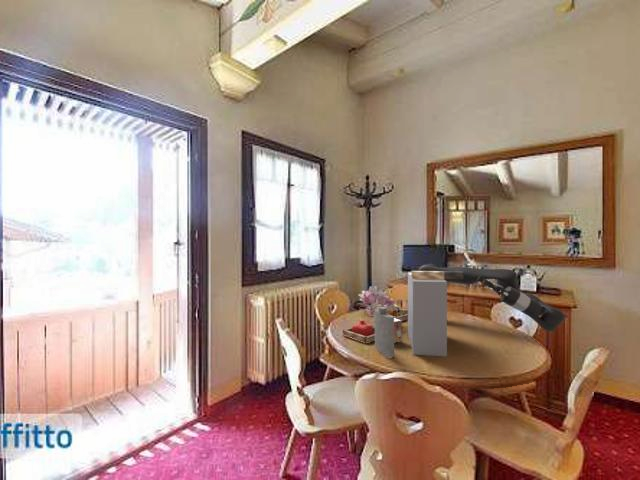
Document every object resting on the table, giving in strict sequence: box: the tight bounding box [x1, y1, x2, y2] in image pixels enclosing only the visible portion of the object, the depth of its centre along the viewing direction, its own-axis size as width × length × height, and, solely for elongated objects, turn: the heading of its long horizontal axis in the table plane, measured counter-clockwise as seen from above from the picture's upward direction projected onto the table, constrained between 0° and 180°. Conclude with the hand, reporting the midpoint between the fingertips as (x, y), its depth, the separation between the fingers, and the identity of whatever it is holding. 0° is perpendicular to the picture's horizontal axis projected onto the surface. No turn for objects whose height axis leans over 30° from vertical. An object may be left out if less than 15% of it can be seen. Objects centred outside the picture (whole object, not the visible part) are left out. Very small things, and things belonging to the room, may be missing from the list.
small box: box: [394, 318, 403, 344], centre depth 164 cm, size 8×6×10 cm
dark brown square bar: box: [410, 270, 463, 279], centre depth 152 cm, size 22×3×3 cm, turn 79°
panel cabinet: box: [407, 271, 448, 357], centre depth 161 cm, size 14×32×32 cm, turn 169°
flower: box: [357, 285, 398, 327], centre depth 189 cm, size 20×22×25 cm
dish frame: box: [342, 326, 375, 344], centre depth 172 cm, size 17×16×3 cm
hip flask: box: [374, 307, 395, 359], centre depth 150 cm, size 16×4×20 cm, turn 14°
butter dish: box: [351, 319, 375, 337], centre depth 172 cm, size 12×12×8 cm
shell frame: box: [363, 307, 408, 322], centre depth 212 cm, size 26×20×3 cm
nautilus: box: [377, 303, 401, 317], centre depth 209 cm, size 8×22×15 cm
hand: (481, 279), depth 150 cm, fingers open, 8 cm apart
